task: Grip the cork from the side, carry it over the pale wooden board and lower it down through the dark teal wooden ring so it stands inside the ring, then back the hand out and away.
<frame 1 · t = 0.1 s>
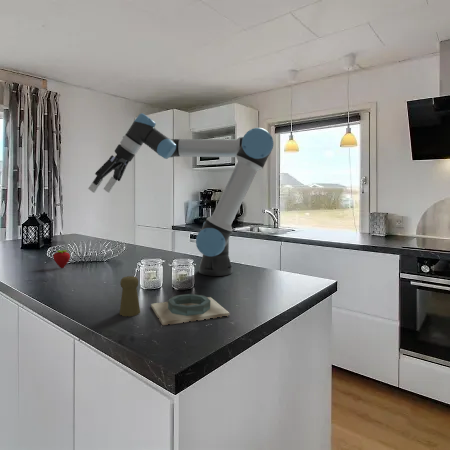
hand: (98, 190, 144), 36 cm above the counter, tool tilted 35°, fingers open, 13 cm apart
cork: (129, 313, 104), on the counter
ring stand: (189, 311, 106), on the counter
strawberry: (62, 268, 158), on the counter
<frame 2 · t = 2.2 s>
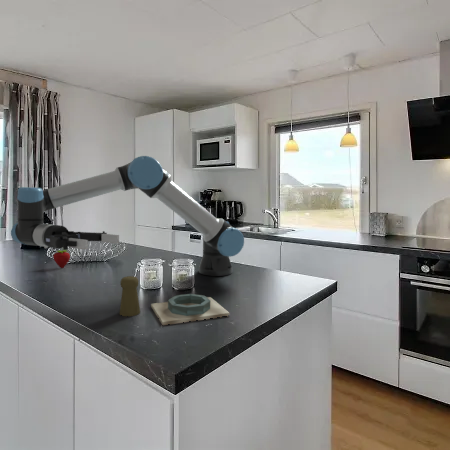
hand: (103, 241, 105), 21 cm above the counter, tool horizontal, fingers open, 13 cm apart
nothing on the counter moved.
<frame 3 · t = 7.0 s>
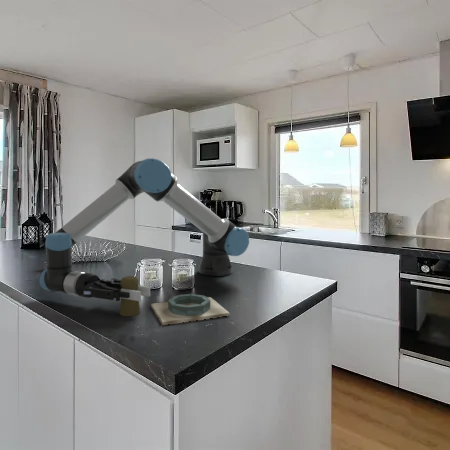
hand: (144, 293, 101), 7 cm above the counter, tool horizontal, fingers closed on cork, 4 cm apart
cork: (129, 313, 104), on the counter, touching gripper
everything else where it was.
when the fingers open (8 cm above the counter, at t = 11.9 s): cork moves 2 cm, resting on ring stand.
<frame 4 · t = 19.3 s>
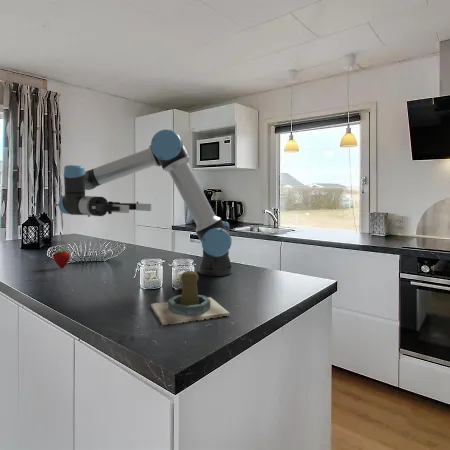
hand: (140, 208, 126), 30 cm above the counter, tool horizontal, fingers open, 13 cm apart
cork: (189, 307, 107), point 1 cm above the counter, touching ring stand
everything else where it was.
at the end: cork 1.5 cm off-centre on the ring stand, point 0.8 cm above the ring stand's base; cork tilted 0°; the gripper is holding nothing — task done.
